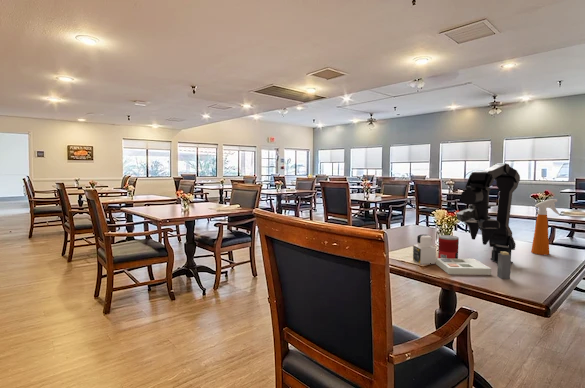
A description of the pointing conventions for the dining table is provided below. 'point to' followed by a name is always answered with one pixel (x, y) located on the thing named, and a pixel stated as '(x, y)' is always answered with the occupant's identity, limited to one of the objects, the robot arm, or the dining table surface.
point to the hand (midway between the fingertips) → (478, 241)
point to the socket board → (463, 266)
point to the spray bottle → (542, 228)
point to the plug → (504, 265)
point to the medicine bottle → (424, 250)
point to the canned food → (448, 246)
